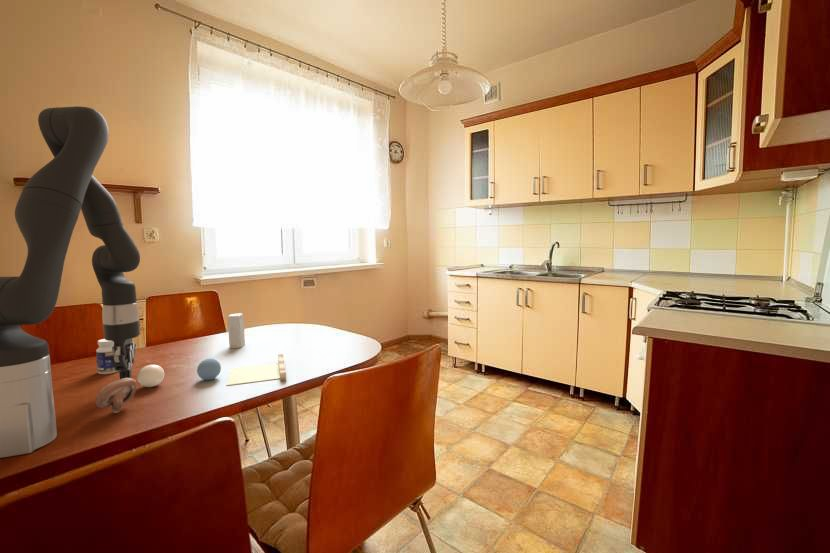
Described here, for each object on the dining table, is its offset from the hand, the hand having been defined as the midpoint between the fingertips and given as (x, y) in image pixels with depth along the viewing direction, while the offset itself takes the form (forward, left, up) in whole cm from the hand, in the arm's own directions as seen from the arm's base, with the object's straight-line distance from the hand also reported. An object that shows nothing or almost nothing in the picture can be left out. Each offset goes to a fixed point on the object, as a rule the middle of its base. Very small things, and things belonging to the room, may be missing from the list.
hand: (126, 382), depth 99 cm
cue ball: (-1, -6, +1) cm, 6 cm away
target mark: (-1, -32, -2) cm, 32 cm away
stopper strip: (-1, -40, -2) cm, 40 cm away
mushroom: (-16, -3, -2) cm, 16 cm away
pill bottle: (+17, +9, -2) cm, 20 cm away
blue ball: (-1, -20, +1) cm, 20 cm away
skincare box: (+33, -25, -2) cm, 42 cm away
